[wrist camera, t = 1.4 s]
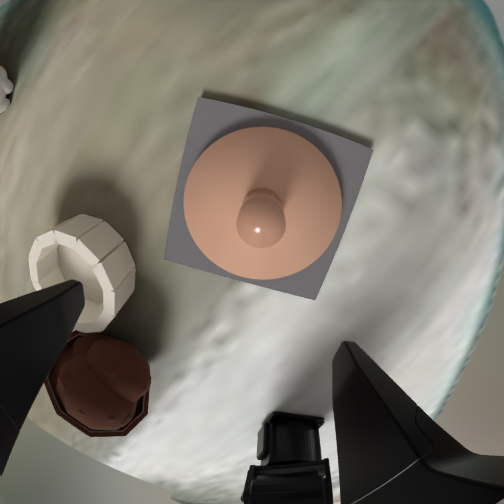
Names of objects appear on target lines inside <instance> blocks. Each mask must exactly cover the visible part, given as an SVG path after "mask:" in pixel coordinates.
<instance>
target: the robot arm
mask: <svg viewBox="0 0 504 504" xmlns="http://www.w3.org/2000/svg"><path fill="white" fill-rule="evenodd" d="M84 306H85V297H84V289H83V284H82V283H81V282H80V281H77V280H73V279H71V280H68V281H65V282H62V283H59V284H56V285H53V286H50V287H47V288H44V289H41V290H38V291H35V292H32V293H29V294H26V295H23V296H20V297H17V298H15V299H12V300H9V301H6V302H3V303H0V475H1V476H2V474H3V472H4V469H5V466H6V464H7V461H8V458H9V456H10V453H11V451H12V448H13V446H14V444H15V441H16V439H17V437H18V434H19V432H20V429H21V427H22V425H23V423H24V421H25V419H26V417H27V414H28V412H29V410H30V408H31V406H32V404H33V402H34V400H35V398H36V396H37V394H38V392H39V391H40V389H41V387H42V385H43V383H44V381H45V379H46V378H47V376H48V374H49V372H50V370H51V369H52V367H53V365H54V363H55V362H56V360H57V358H58V356H59V355H60V353H61V351H62V350H63V348H64V346H65V345H66V343H67V341H68V339H69V337H70V335H71V333H72V331H73V329H74V327H75V325H76V323H77V321H78V319H79V317H80V315H81V313H82V311H83V309H84ZM332 399H333V412H334V421H335V431H336V441H337V453H338V466H339V480H340V498H341V504H504V456H489V455H480V454H476V453H473V452H471V451H469V450H468V449H466V448H465V447H464V446H463V445H461V444H460V443H459V442H458V441H457V440H455V439H454V438H453V437H452V436H451V435H449V434H448V433H447V432H446V431H445V430H443V429H442V428H441V427H440V426H439V425H438V424H436V422H434V421H433V420H432V419H431V418H430V417H429V416H428V415H427V414H426V413H425V412H424V411H423V410H422V409H421V408H420V407H419V406H417V404H416V403H415V402H414V401H413V400H412V399H411V398H410V397H409V396H408V395H407V394H406V393H405V392H404V391H403V390H402V389H401V388H400V387H399V386H398V385H397V384H396V383H395V382H394V381H393V380H392V379H391V378H390V377H389V376H388V375H387V374H386V373H385V372H384V371H383V370H382V369H381V368H380V367H379V366H378V365H377V364H376V363H375V362H374V361H373V360H372V359H371V358H370V357H369V356H368V355H367V354H366V353H365V352H364V351H363V350H362V349H361V348H360V347H359V346H358V345H357V344H356V343H355V342H351V341H343V342H342V343H341V345H340V346H339V348H338V350H337V352H336V354H335V356H334V358H333V362H332ZM323 424H324V418H318V417H309V416H300V415H293V414H286V413H279V412H274V413H273V414H272V415H271V416H270V418H269V420H268V421H267V423H265V424H263V426H262V428H261V429H260V431H259V432H258V444H257V459H258V460H261V466H256V465H250V469H249V471H248V474H247V478H246V483H245V488H244V491H243V493H242V496H241V501H242V502H243V503H244V504H333V492H332V482H331V474H330V466H329V458H325V459H324V460H322V457H321V447H320V437H319V428H320V427H321V426H322V425H323ZM324 476H325V478H324Z"/></svg>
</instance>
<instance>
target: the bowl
mask: <svg viewBox="0 0 504 504" xmlns="http://www.w3.org/2000/svg"><path fill="white" fill-rule="evenodd" d="M123 240H124V239H123V238H122V237H121V236H120V235H119V234H118V233H117V232H116V231H115V230H114V229H113V228H112V227H111V226H110V225H109V224H108V223H107V222H106V221H105V222H104V220H103V219H99V218H96V217H92V216H89V215H86V214H79V215H77V216H75V217H72V218H70V219H68V220H65V221H63V222H62V223H60V224H58V225H56V226H55V227H53V228H51V229H50V230H48V231H46V232H44V233H43V234H41V235H39V236H38V237H37V238H35V241H34V243H33V246H32V248H31V251H30V254H29V267H30V275H31V280H32V281H33V282H32V283H33V285H34V287H35V289H36V291H38V290H41V289H44V288H47V287H50V286H53V285H56V284H59V283H62V282H65V281H68V280H71V279H73V280H77V281H80V282H81V283H82V284H83V289H84V297H85V306H84V309H83V311H82V313H81V315H80V317H79V319H78V321H77V323H76V325H75V327H74V329H75V330H78V331H80V332H84V333H90V332H102V330H104V329H105V328H106V327H107V326H108V324H109V323H110V322H111V321H112V320H113V318H114V317H115V316H116V314H117V313H118V312H119V310H120V309H121V308H122V306H123V305H124V304H125V302H126V301H127V300H128V298H129V297H130V296H131V294H132V293H133V292H134V288H135V273H136V268H135V266H136V265H135V263H134V261H133V258H132V256H131V254H130V251H129V249H128V246H127V244H126V241H125V242H124V241H123Z"/></svg>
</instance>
